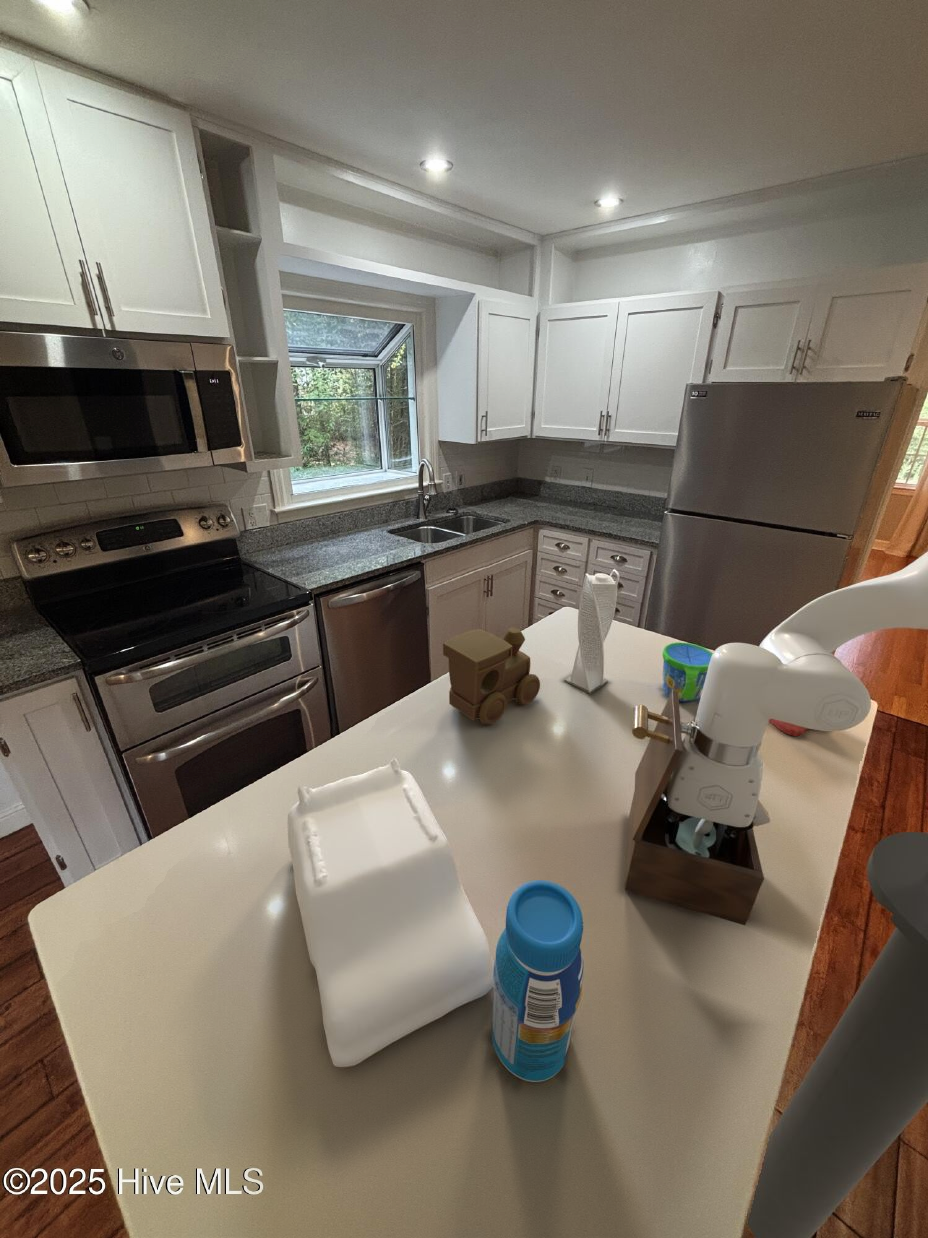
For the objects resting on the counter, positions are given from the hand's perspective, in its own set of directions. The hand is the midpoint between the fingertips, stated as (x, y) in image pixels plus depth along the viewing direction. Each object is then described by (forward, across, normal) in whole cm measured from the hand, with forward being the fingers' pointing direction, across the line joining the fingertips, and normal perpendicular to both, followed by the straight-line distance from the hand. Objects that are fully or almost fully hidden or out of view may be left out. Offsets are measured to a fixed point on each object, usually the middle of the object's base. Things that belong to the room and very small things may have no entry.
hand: (694, 841), depth 69 cm
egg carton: (+4, -38, -21) cm, 44 cm away
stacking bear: (+5, +22, +44) cm, 49 cm away
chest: (+4, -1, -1) cm, 5 cm away
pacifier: (+1, -1, 0) cm, 1 cm away
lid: (-13, -7, -1) cm, 14 cm away
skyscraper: (+4, -19, +43) cm, 47 cm away
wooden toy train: (+4, -37, +28) cm, 47 cm away
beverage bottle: (+4, -17, -28) cm, 33 cm away
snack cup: (+5, +1, +46) cm, 46 cm away
